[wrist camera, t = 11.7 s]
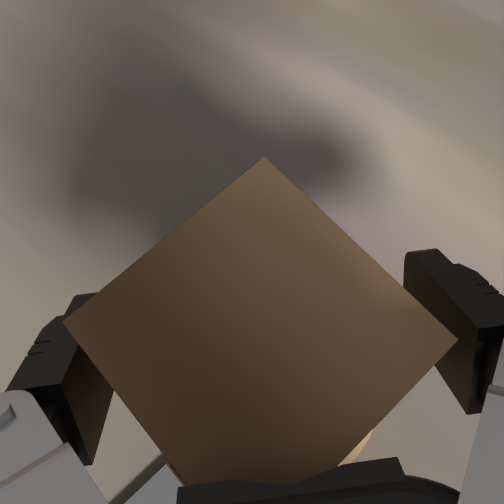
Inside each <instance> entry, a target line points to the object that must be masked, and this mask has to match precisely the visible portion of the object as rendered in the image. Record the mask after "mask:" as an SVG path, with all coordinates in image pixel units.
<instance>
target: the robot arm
mask: <svg viewBox="0 0 504 504" xmlns="http://www.w3.org/2000/svg"><path fill="white" fill-rule="evenodd" d="M403 288H404V289H405V290H407V291H408V292H409V293H410V294H411V295H412V296H413V297H414V298H415V299H416V300H417V301H418V302H419V303H420V304H421V305H422V306H423V307H425V308H426V309H427V310H428V311H429V312H430V313H431V314H432V315H433V316H434V317H435V318H436V319H437V320H438V321H439V322H440V323H441V324H443V325H444V326H445V327H446V328H447V329H448V330H449V331H450V332H451V333H452V334H453V335H454V336H455V337H456V338H457V339H458V341H457V342H456V343H455V344H454V345H453V346H452V347H451V348H450V349H449V350H448V351H447V352H446V353H445V354H444V355H443V356H442V358H441V359H440V360H439V361H438V362H437V363H436V364H435V367H436V368H437V370H438V371H439V373H440V374H441V376H442V377H443V379H444V380H445V382H446V383H447V385H448V387H449V388H450V390H451V391H452V393H453V394H454V396H455V397H456V399H457V400H458V402H459V403H460V405H461V406H462V408H463V410H464V411H465V413H466V414H467V415H470V414H477V413H481V417H480V421H479V425H478V428H477V432H476V436H475V440H474V443H473V447H472V451H471V455H470V459H469V462H468V466H467V470H466V474H465V477H464V481H463V485H462V489H461V492H459V491H457V490H455V489H453V488H451V487H449V486H446V485H444V484H442V483H439V482H436V481H432V480H429V479H426V478H421V477H416V476H411V475H405V474H404V472H403V469H402V467H401V465H400V462H399V460H398V458H397V457H392V458H385V459H377V460H370V461H363V462H356V463H348V464H343V465H340V466H338V467H335V468H333V469H330V470H328V471H325V472H323V473H320V474H317V475H315V476H312V477H310V478H307V479H305V480H302V481H300V482H297V483H294V484H290V485H281V484H271V483H261V482H251V481H241V480H225V481H218V482H211V483H204V484H196V485H189V486H182V487H178V489H177V500H176V504H504V296H503V295H502V294H499V291H497V290H496V289H495V288H494V287H493V286H492V285H489V282H488V281H487V280H486V279H484V278H483V277H482V276H481V275H480V274H479V273H478V272H476V271H474V270H472V269H470V268H468V267H466V266H463V265H461V264H453V263H452V262H451V261H450V260H449V259H447V258H446V257H445V256H444V255H443V254H442V253H441V252H440V251H439V250H438V249H436V248H435V249H427V250H419V251H412V252H407V253H406V255H405V260H404V282H403ZM97 293H98V292H96V293H88V294H81V295H76V296H74V298H73V300H72V301H71V303H70V305H69V307H68V309H67V311H66V313H65V314H64V315H62V316H57V317H55V318H54V319H53V320H52V321H51V322H50V323H48V324H47V325H46V326H45V327H44V328H43V329H42V330H41V332H40V333H39V335H38V337H37V338H36V340H35V342H34V345H32V347H31V348H30V350H29V352H28V356H26V357H25V359H24V360H23V362H22V364H21V365H20V367H19V369H18V371H17V372H16V374H15V376H14V377H13V379H12V381H11V382H10V384H9V386H8V387H7V389H6V391H5V392H3V393H0V504H109V503H108V502H107V500H106V499H105V497H104V496H103V494H102V493H101V491H100V490H99V488H98V487H97V485H96V484H95V482H94V481H93V479H92V478H91V476H90V474H89V473H88V471H87V470H86V468H85V467H84V466H87V465H93V461H94V458H95V454H96V451H97V447H98V444H99V440H100V437H101V433H102V430H103V426H104V423H105V420H106V416H107V413H108V409H109V406H110V402H111V399H112V395H113V392H114V389H113V388H112V387H111V385H110V384H109V383H108V381H107V380H106V379H105V377H104V376H103V375H102V374H101V372H100V371H99V370H98V368H97V367H96V366H95V364H94V363H93V362H92V360H91V359H90V358H89V357H88V355H87V354H86V353H85V351H84V350H83V349H82V347H81V346H80V345H79V343H78V342H77V341H76V340H75V338H74V337H73V336H72V334H71V333H70V332H69V330H68V329H67V328H66V327H65V325H64V324H63V323H62V321H64V320H65V319H66V318H67V317H68V316H70V315H71V314H72V313H73V312H75V311H76V310H77V309H78V308H79V307H81V306H82V305H83V304H84V303H86V302H87V301H88V300H89V299H90V298H92V297H93V296H94V295H95V294H97Z"/></svg>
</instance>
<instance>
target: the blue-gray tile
mask: <svg viewBox="0 0 504 504" xmlns="http://www.w3.org/2000/svg"><path fill="white" fill-rule="evenodd" d="M182 486H186V485H185V484H184V483H183V481H182V480H181V479H180V477H179V476H178V475H177V473H176V472H175V471H174V470H173V468H172V467H171V466H170V464H169V463H167V464H165V465H164V466H163V467H162V468H161V469H160V470H159V471H158V472H157V473H156V474H155V475H154V476H153V477H152V478H151V479H150V480H149V481H147V482H146V483H145V484H144V485H143V486H142V487H141V488H140V489H139V490H138V491H137V492H136V493H135V494H134V495H133V496H132V497H131V498H130V499H128V500H127V501H126V502H125V503H124V504H176V500H177V489H178V487H182Z"/></svg>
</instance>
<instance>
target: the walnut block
mask: <svg viewBox="0 0 504 504" xmlns="http://www.w3.org/2000/svg"><path fill="white" fill-rule="evenodd" d="M62 323H63V324H64V325H65V327H66V328H67V329H68V330H69V332H70V333H71V334H72V336H73V337H74V338H75V340H76V341H77V342H78V343H79V345H80V346H81V347H82V349H83V350H84V351H85V353H86V354H87V355H88V357H89V358H90V359H91V360H92V362H93V363H94V364H95V366H96V367H97V368H98V370H99V371H100V372H101V374H102V375H103V376H104V377H105V379H106V380H107V381H108V383H109V384H110V385H111V387H112V388H113V389H114V390H115V392H116V393H117V394H118V396H119V397H120V398H121V400H122V401H123V402H124V404H125V405H126V406H127V407H128V409H129V410H130V411H131V413H132V414H133V415H134V417H135V418H136V419H137V421H138V422H139V423H140V424H141V426H142V427H143V428H144V430H145V431H146V432H147V434H148V435H149V436H150V438H151V439H152V440H153V441H154V443H155V444H156V445H157V447H158V448H159V449H160V451H161V452H162V453H163V454H164V456H165V457H166V458H167V460H168V461H169V462H170V464H171V465H172V466H173V468H174V469H175V470H176V471H177V473H178V474H179V475H180V477H181V478H182V479H183V481H184V482H185V483H186V485H187V486H189V485H196V484H204V483H211V482H218V481H225V480H241V481H251V482H261V483H271V484H281V485H290V484H294V483H297V482H300V481H302V480H305V479H307V478H310V477H312V476H315V475H317V474H320V473H323V472H325V471H328V470H330V469H333V468H335V467H337V466H338V465H339V464H340V463H341V462H342V461H343V460H344V459H345V458H346V457H347V456H348V455H349V453H350V452H351V451H352V450H353V449H354V448H355V447H356V446H357V445H358V444H359V443H360V442H361V441H362V440H363V439H364V438H365V437H366V436H367V435H368V434H369V433H370V432H371V431H372V429H373V428H374V427H375V426H376V425H377V424H378V423H379V422H380V421H381V420H382V419H383V418H384V417H385V416H386V415H387V414H388V413H389V412H390V411H391V410H392V409H393V408H394V407H395V405H396V404H397V403H398V402H399V401H400V400H401V399H402V398H403V397H404V396H405V395H406V394H407V393H408V392H409V391H410V390H411V389H412V388H413V387H414V386H415V385H416V384H417V383H418V381H419V380H420V379H421V378H422V377H423V376H424V375H425V374H426V373H427V372H428V371H429V370H430V369H431V368H432V367H433V366H434V365H435V364H436V363H437V362H438V361H439V360H440V359H441V358H442V356H443V355H444V354H445V353H446V352H447V351H448V350H449V349H450V348H451V347H452V346H453V345H454V344H455V343H456V342H457V341H458V339H457V338H456V337H455V336H454V335H453V334H452V333H451V332H450V331H449V330H448V329H447V328H446V327H445V326H444V325H443V324H441V323H440V322H439V321H438V320H437V319H436V318H435V317H434V316H433V315H432V314H431V313H430V312H429V311H428V310H427V309H426V308H425V307H423V306H422V305H421V304H420V303H419V302H418V301H417V300H416V299H415V298H414V297H413V296H412V295H411V294H410V293H409V292H408V291H407V290H405V289H404V288H403V287H402V286H401V285H400V284H399V283H398V282H397V281H396V280H395V279H394V278H393V277H392V276H391V275H390V274H389V273H387V272H386V271H385V270H384V269H383V268H382V267H381V266H380V265H379V264H378V263H377V262H376V261H375V260H374V259H373V258H372V257H371V256H369V255H368V254H367V253H366V252H365V251H364V250H363V249H362V248H361V247H360V246H359V245H358V244H357V243H356V242H355V241H354V240H353V239H351V238H350V237H349V236H348V235H347V234H346V233H345V232H344V231H343V230H342V229H341V228H340V227H339V226H338V225H337V224H336V223H335V222H333V221H332V220H331V219H330V218H329V217H328V216H327V215H326V214H325V213H324V212H323V211H322V210H321V209H320V208H319V207H318V206H317V205H315V204H314V203H313V202H312V201H311V200H310V199H309V198H308V197H307V196H306V195H305V194H304V193H303V192H302V191H301V190H300V189H299V188H297V187H296V186H295V185H294V184H293V183H292V182H291V181H290V180H289V179H288V178H287V177H286V176H285V175H284V174H283V173H282V172H281V171H279V170H278V169H277V168H276V167H275V166H274V165H273V164H272V163H271V162H270V161H269V160H268V159H267V158H266V157H265V156H264V157H263V158H262V159H261V160H259V161H258V162H257V163H256V164H255V165H253V166H252V167H251V168H250V169H248V170H247V171H246V172H245V173H244V174H242V175H241V176H240V177H239V178H237V179H236V180H235V181H234V182H233V183H231V184H230V185H229V186H228V187H226V188H225V189H224V190H223V191H222V192H220V193H219V194H218V195H217V196H215V197H214V198H213V199H212V200H210V201H209V202H208V203H207V204H206V205H204V206H203V207H202V208H201V209H199V210H198V211H197V212H196V213H195V214H193V215H192V216H191V217H190V218H188V219H187V220H186V221H185V222H184V223H182V224H181V225H180V226H179V227H177V228H176V229H175V230H174V231H173V232H171V233H170V234H169V235H168V236H166V237H165V238H164V239H163V240H162V241H160V242H159V243H158V244H157V245H155V246H154V247H153V248H152V249H150V250H149V251H148V252H147V253H146V254H144V255H143V256H142V257H141V258H139V259H138V260H137V261H136V262H135V263H133V264H132V265H131V266H130V267H128V268H127V269H126V270H125V271H124V272H122V273H121V274H120V275H119V276H117V277H116V278H115V279H114V280H113V281H111V282H110V283H109V284H108V285H106V286H105V287H104V288H103V289H102V290H100V291H99V292H98V293H97V294H95V295H94V296H93V297H92V298H90V299H89V300H88V301H87V302H86V303H84V304H83V305H82V306H81V307H79V308H78V309H77V310H76V311H75V312H73V313H72V314H71V315H70V316H68V317H67V318H66V319H65V320H64V321H62Z"/></svg>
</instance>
